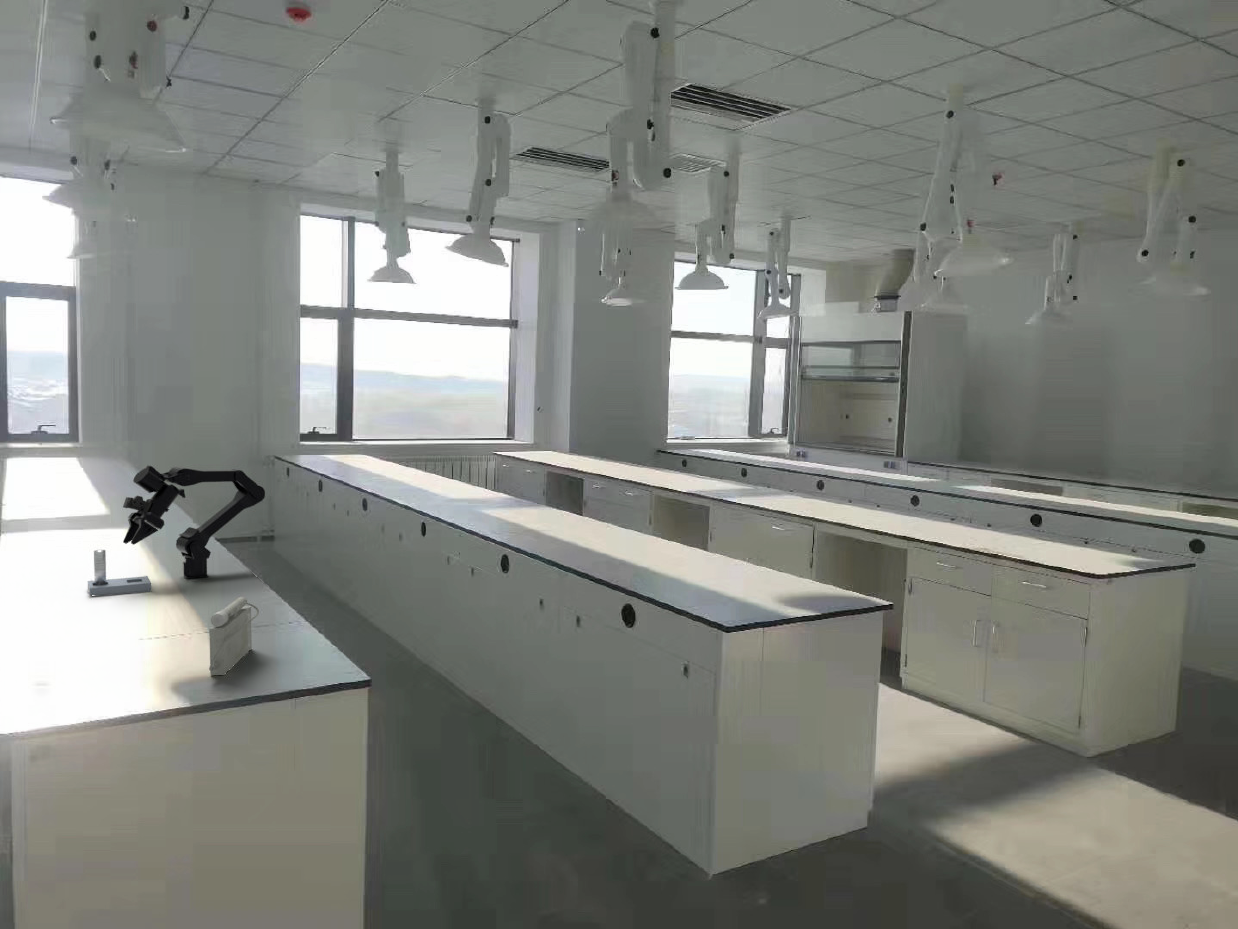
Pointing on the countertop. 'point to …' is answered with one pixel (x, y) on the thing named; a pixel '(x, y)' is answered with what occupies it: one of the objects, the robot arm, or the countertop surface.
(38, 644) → the countertop surface
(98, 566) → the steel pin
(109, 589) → the socket block
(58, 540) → the countertop surface
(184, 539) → the robot arm
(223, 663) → the geiger counter
